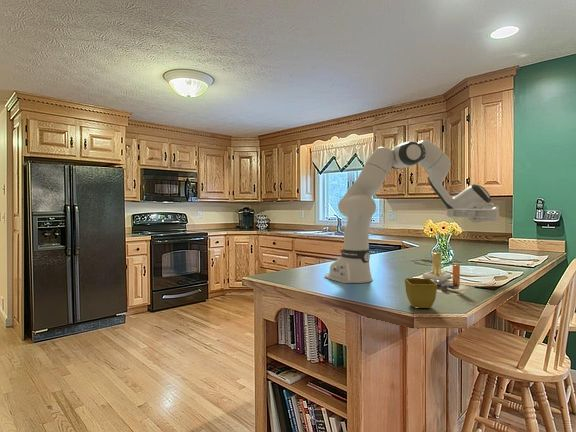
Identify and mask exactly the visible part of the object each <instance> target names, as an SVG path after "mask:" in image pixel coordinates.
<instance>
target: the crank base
mask: <svg viewBox="0 0 576 432" xmlns="http://www.w3.org/2000/svg"><path fill="white" fill-rule="evenodd" d="M431 280H432V281H433V282H434V280H435V279H431ZM446 283H448V282H447V281H446ZM449 283H450V284H453V282H449ZM475 288H476V287H475V286H470V285H466V284H465V285H464V284H460V287H459V289H455V290H454V289H450V288H447V285H442V286H437V291H436V293H437V292H438V293H441V294H442V293H443V294H448V295H451V296H452V295H453V296H460V295H462V294H464V293H465V292H466V293H467V292H469V291H470V290H473V289H475Z"/></svg>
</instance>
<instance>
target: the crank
mask: <svg viewBox="0 0 576 432" xmlns="http://www.w3.org/2000/svg"><path fill="white" fill-rule="evenodd" d="M460 266H461V265H460V264H452V283H453V284H450V283H451V282H447V281H446V279H445V280H439V279H433V280H434V282H435V283H436V284H437V286H442V285H447V288H450V289H454V290H455V289H459V287H460V285H461V282H460V280H461V276H460V275H461V267H460ZM446 282H447V283H446Z"/></svg>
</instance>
